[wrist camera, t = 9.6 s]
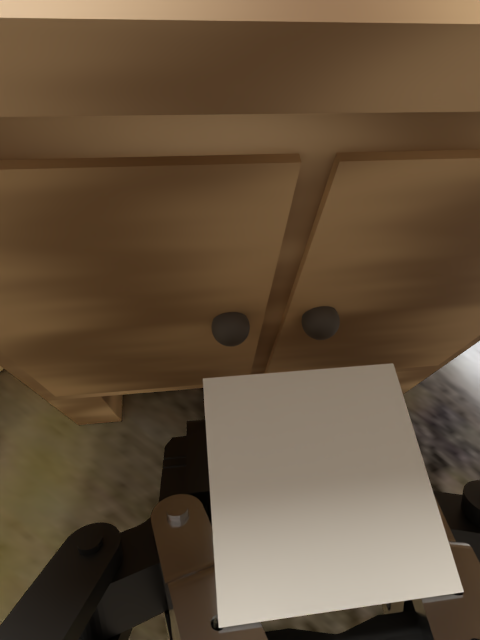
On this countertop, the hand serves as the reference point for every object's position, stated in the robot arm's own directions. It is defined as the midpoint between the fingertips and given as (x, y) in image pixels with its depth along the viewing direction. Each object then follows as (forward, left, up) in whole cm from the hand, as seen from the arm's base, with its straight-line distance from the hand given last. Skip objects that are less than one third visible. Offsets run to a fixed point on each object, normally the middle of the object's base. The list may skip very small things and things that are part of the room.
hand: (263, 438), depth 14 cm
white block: (0, +4, -5) cm, 6 cm away
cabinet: (0, +6, -5) cm, 8 cm away
